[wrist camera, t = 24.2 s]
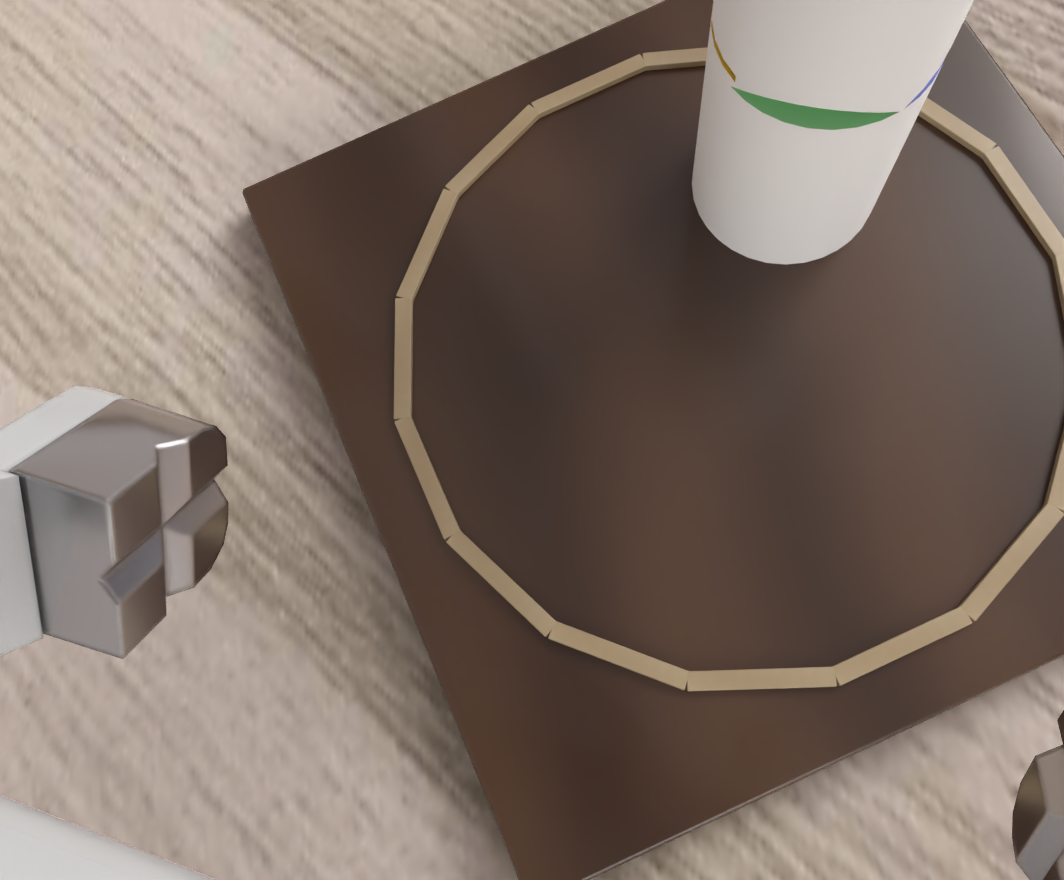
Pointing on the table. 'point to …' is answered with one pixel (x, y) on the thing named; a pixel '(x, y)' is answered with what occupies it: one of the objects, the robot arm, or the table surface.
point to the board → (687, 432)
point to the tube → (810, 116)
